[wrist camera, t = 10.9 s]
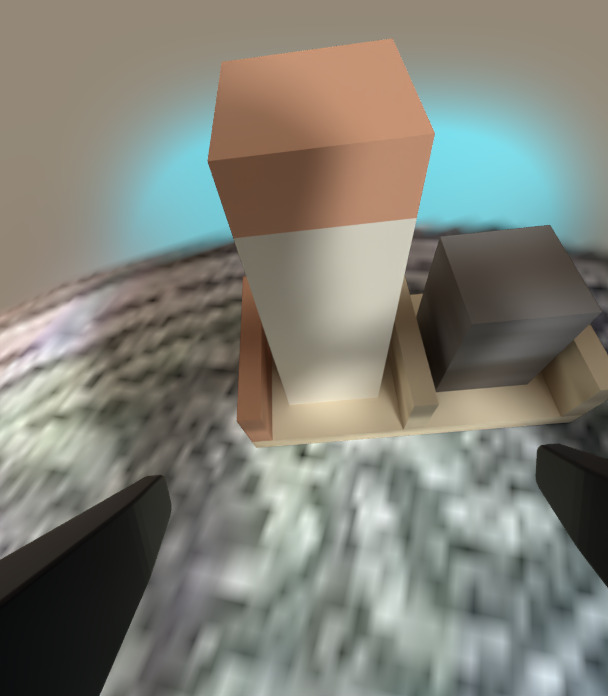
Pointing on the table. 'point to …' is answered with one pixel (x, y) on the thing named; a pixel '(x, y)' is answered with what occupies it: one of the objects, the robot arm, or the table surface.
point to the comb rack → (454, 350)
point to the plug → (322, 204)
